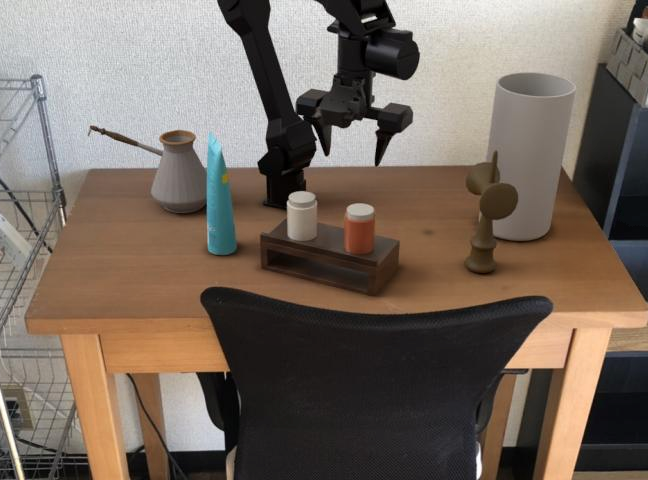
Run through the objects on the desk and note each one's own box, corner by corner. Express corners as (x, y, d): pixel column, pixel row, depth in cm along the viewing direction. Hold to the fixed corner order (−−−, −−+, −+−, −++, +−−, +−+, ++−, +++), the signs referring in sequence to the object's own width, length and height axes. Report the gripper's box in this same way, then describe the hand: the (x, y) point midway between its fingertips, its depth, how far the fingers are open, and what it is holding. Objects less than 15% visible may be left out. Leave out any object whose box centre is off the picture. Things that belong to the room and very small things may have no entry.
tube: (243, 255, 141) (237, 144, 129) (216, 261, 139) (207, 149, 128) (227, 236, 146) (220, 128, 135) (201, 242, 145) (191, 133, 133)
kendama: (470, 283, 134) (485, 163, 122) (454, 254, 142) (467, 138, 130) (506, 281, 135) (525, 161, 123) (489, 252, 142) (505, 137, 130)
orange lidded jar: (338, 250, 132) (339, 212, 128) (351, 237, 136) (352, 200, 132) (366, 257, 131) (368, 218, 127) (378, 243, 134) (380, 206, 130)
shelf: (261, 268, 138) (259, 234, 134) (289, 242, 145) (288, 209, 141) (374, 296, 131) (376, 261, 127) (398, 268, 138) (400, 233, 134)
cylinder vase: (547, 213, 154) (572, 74, 139) (551, 245, 144) (579, 99, 129) (478, 208, 156) (495, 70, 141) (477, 240, 146) (496, 94, 131)
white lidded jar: (282, 237, 136) (281, 199, 132) (295, 225, 139) (295, 188, 135) (309, 243, 134) (308, 205, 130) (322, 231, 137) (322, 193, 133)
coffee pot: (217, 190, 161) (211, 113, 152) (212, 217, 152) (206, 136, 143) (105, 191, 161) (92, 113, 152) (93, 218, 152) (79, 137, 142)
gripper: (278, 71, 130) (280, 167, 139) (390, 90, 123) (384, 189, 133) (310, 52, 138) (310, 144, 147) (418, 69, 131) (410, 164, 141)
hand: (351, 160), depth 142 cm, fingers open, 9 cm apart
